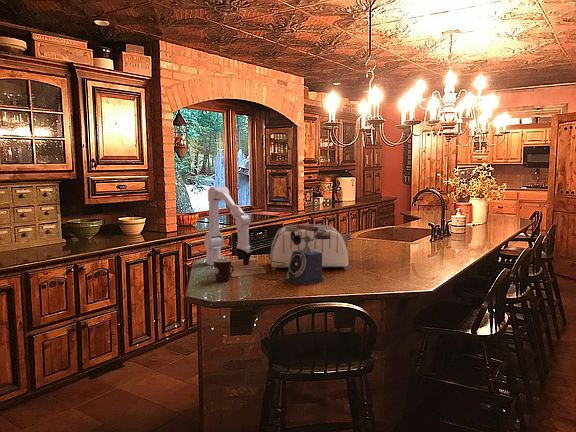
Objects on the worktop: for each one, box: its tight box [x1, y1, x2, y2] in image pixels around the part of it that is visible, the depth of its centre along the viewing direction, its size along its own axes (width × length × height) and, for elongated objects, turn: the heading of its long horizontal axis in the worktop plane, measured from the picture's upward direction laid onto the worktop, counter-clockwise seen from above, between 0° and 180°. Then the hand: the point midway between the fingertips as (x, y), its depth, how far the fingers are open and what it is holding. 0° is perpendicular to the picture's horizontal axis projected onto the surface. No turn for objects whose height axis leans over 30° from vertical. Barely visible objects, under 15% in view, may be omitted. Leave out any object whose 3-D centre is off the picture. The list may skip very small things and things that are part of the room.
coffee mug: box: [213, 257, 234, 283], centre depth 229 cm, size 12×9×10 cm
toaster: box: [269, 223, 353, 271], centre depth 261 cm, size 21×45×22 cm, turn 93°
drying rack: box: [230, 264, 267, 278], centre depth 250 cm, size 17×18×3 cm
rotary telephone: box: [256, 224, 331, 286], centre depth 232 cm, size 41×22×27 cm, turn 38°
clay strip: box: [231, 257, 258, 268], centre depth 249 cm, size 2×14×5 cm, turn 116°
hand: (243, 263), depth 249 cm, fingers open, 7 cm apart
